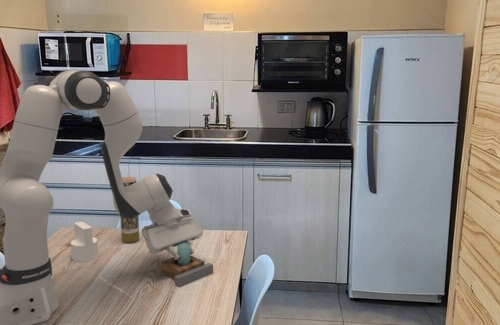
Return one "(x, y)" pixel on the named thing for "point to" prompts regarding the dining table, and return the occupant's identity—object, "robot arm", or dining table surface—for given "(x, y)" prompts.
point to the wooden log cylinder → (129, 220)
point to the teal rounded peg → (184, 254)
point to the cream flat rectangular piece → (193, 274)
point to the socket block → (172, 268)
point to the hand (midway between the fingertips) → (185, 256)
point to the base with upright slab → (84, 243)
